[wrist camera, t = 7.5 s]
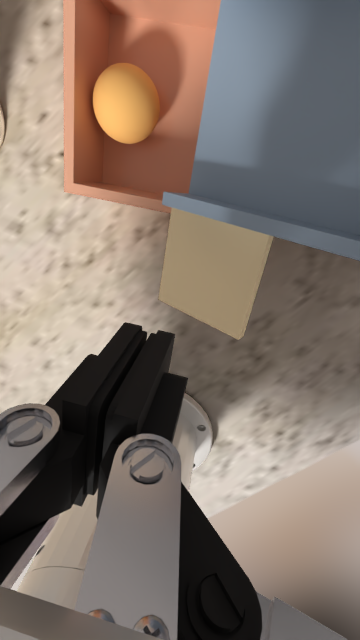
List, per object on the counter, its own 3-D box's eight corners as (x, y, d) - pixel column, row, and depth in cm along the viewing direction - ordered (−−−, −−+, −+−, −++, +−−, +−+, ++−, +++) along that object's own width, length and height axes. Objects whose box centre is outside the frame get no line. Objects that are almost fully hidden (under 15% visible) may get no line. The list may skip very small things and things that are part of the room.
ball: (122, 144, 22) (167, 151, 20) (77, 134, 19) (125, 141, 17) (127, 75, 20) (177, 77, 18) (78, 51, 17) (132, 50, 15)
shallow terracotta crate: (233, 216, 23) (231, 225, 18) (97, 188, 23) (64, 191, 19) (277, 29, 18) (289, -21, 13) (105, 4, 19) (63, -50, 14)
